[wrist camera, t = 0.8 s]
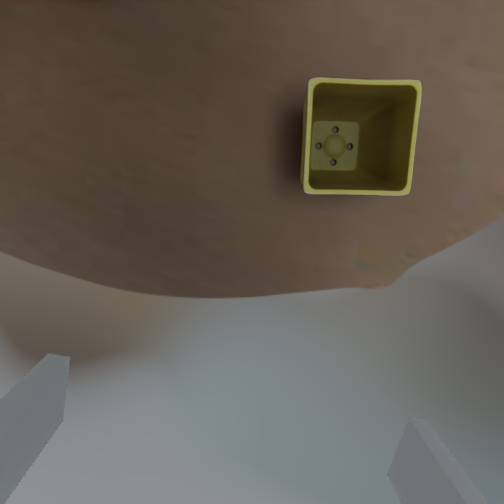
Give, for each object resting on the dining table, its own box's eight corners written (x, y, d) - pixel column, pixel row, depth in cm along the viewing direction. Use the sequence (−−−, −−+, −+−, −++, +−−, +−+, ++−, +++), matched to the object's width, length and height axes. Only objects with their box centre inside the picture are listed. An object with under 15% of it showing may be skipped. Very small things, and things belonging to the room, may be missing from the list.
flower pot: (287, 189, 37) (303, 194, 28) (291, 100, 35) (309, 76, 26) (370, 190, 37) (410, 195, 28) (378, 102, 35) (424, 79, 26)
